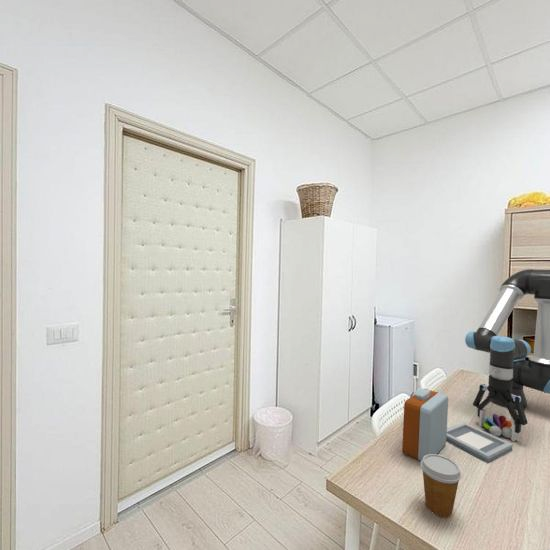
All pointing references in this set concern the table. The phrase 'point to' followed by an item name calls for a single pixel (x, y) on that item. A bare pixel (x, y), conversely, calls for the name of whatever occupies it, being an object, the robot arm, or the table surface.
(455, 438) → the square gray tray
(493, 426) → the rainbow disc rolling toy
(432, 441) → the rectangular block
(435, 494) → the disposable coffee cup
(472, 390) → the table surface
